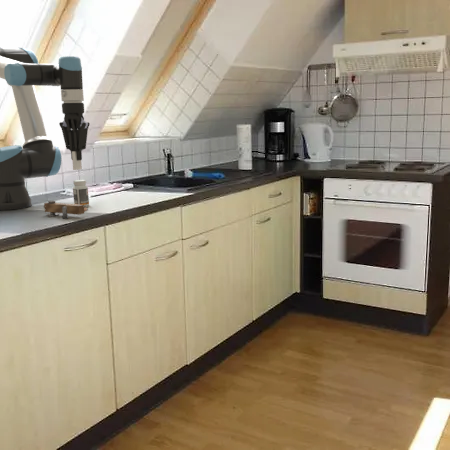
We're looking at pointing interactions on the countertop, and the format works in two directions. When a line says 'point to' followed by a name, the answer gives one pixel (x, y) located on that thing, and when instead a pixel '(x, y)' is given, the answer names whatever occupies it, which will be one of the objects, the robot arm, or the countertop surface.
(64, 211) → the stop peg
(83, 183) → the pill bottle
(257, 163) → the countertop surface
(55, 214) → the pivot pin
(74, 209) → the leg bar
